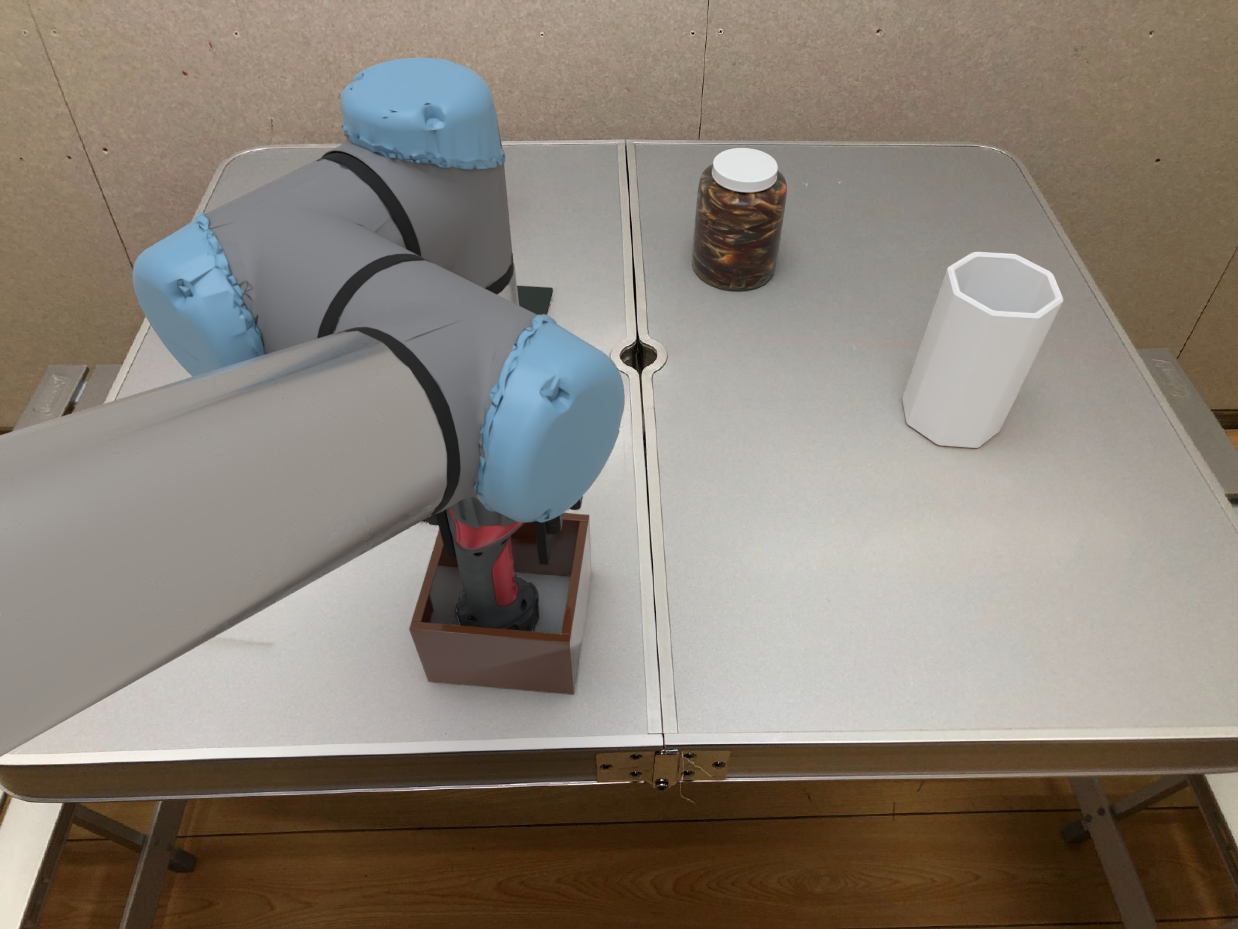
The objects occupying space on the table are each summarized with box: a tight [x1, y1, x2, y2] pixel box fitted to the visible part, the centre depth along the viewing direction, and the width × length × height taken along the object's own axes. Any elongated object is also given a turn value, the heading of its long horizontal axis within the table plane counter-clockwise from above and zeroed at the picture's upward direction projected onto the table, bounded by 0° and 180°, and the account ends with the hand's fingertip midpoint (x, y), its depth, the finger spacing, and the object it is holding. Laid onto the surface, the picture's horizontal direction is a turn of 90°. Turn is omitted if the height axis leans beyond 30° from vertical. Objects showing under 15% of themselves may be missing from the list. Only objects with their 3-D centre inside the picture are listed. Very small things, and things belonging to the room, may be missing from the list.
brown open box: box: [409, 512, 593, 696], centre depth 75 cm, size 13×13×9 cm
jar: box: [691, 147, 788, 292], centre depth 110 cm, size 12×12×15 cm
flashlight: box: [446, 497, 540, 632], centre depth 70 cm, size 8×8×23 cm
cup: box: [901, 251, 1064, 449], centre depth 89 cm, size 11×11×18 cm
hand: (500, 547), depth 69 cm, fingers closed on flashlight, 7 cm apart
